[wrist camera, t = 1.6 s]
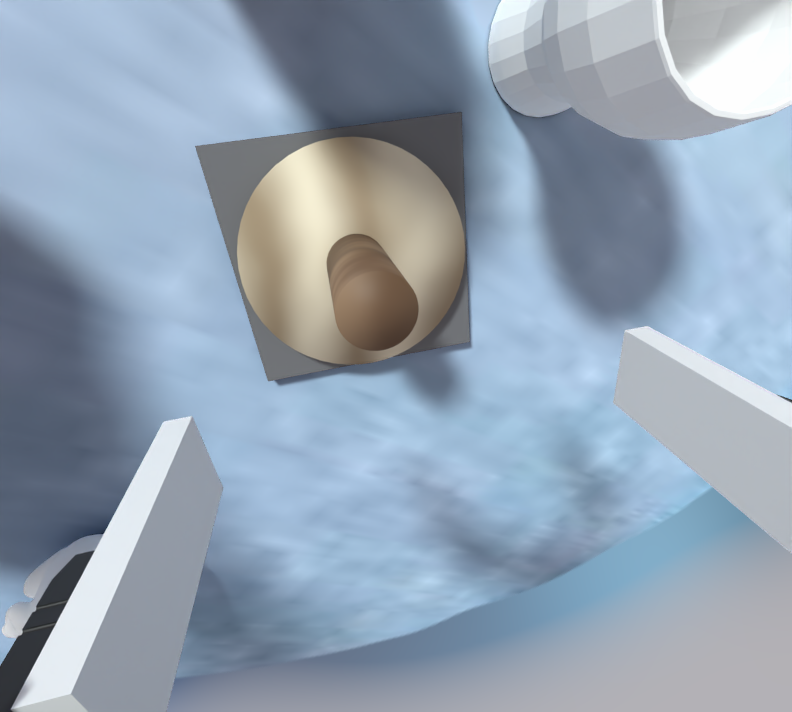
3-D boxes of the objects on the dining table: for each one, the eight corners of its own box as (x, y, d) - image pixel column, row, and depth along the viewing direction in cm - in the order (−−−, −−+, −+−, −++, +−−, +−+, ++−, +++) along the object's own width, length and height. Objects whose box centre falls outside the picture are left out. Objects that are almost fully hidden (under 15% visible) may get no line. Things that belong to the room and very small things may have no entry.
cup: (652, 45, 27) (983, -49, 14) (531, 176, 29) (716, 203, 16) (565, -127, 22) (938, -515, 9) (429, 45, 25) (572, -69, 11)
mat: (269, 374, 32) (268, 381, 31) (199, 146, 25) (195, 146, 24) (465, 336, 34) (469, 341, 33) (456, 113, 26) (461, 111, 26)
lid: (273, 374, 31) (259, 466, 22) (207, 154, 24) (148, 160, 15) (463, 337, 33) (521, 409, 24) (454, 122, 26) (532, 110, 17)
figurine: (124, 495, 35) (46, 647, 24) (205, 554, 39) (169, 703, 29) (30, 551, 35) (-87, 722, 25) (120, 602, 40) (54, 765, 30)
